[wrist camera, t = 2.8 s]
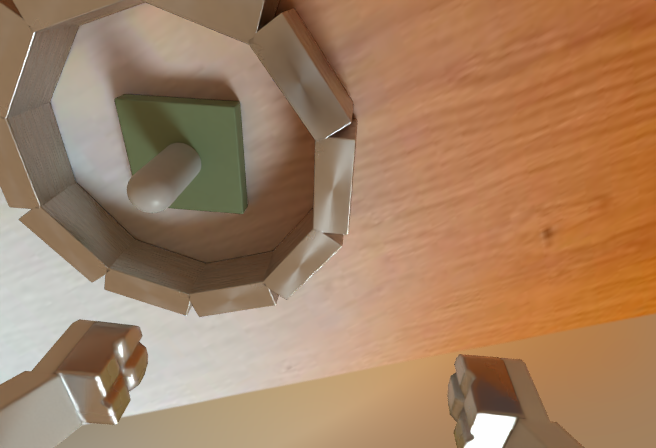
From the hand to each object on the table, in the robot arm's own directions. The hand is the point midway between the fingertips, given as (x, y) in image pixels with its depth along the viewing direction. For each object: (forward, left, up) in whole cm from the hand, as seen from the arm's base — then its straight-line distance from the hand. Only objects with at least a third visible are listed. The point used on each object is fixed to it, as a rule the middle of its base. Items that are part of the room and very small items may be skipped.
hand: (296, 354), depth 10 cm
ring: (+8, 0, -13) cm, 15 cm away
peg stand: (+8, 0, -13) cm, 15 cm away
